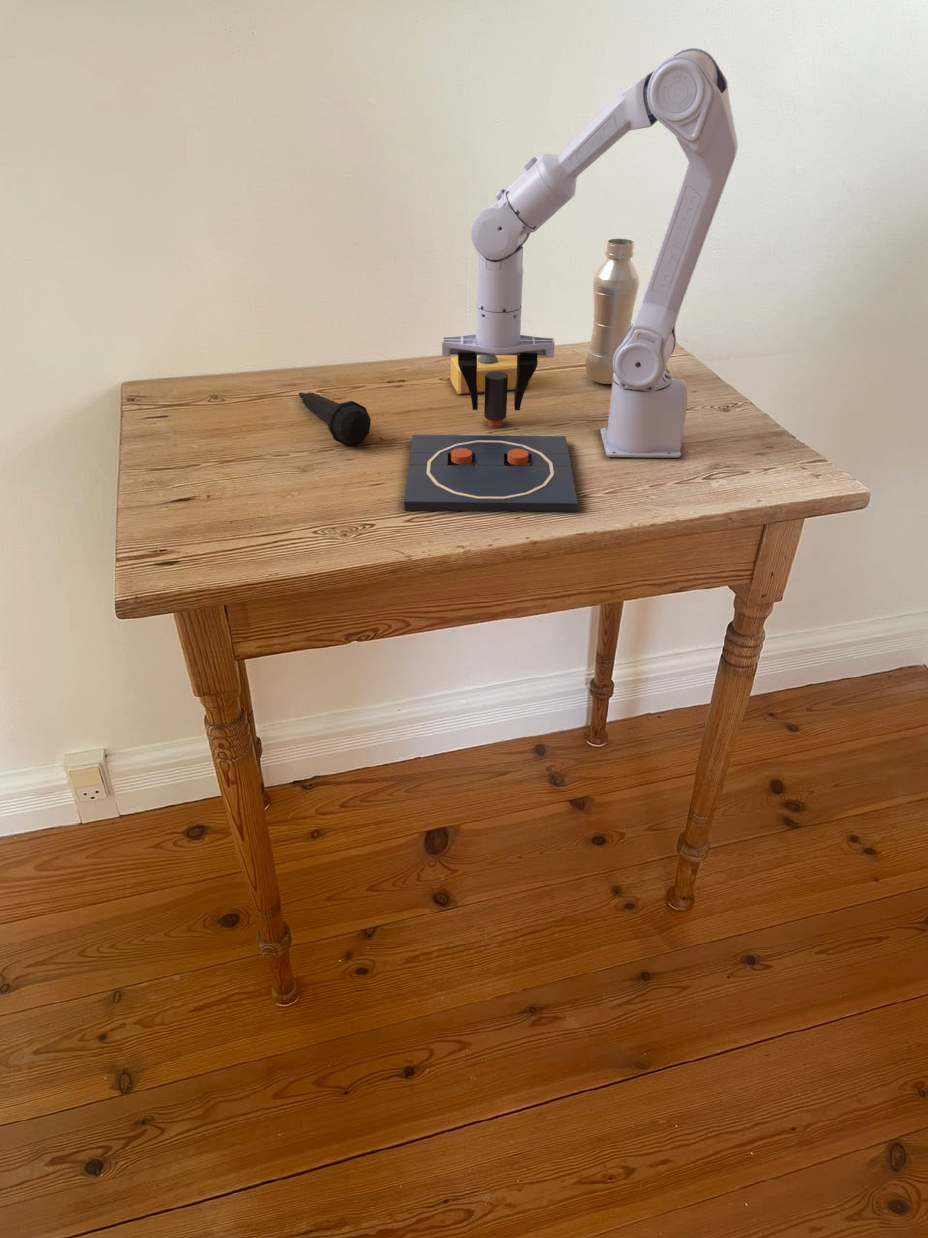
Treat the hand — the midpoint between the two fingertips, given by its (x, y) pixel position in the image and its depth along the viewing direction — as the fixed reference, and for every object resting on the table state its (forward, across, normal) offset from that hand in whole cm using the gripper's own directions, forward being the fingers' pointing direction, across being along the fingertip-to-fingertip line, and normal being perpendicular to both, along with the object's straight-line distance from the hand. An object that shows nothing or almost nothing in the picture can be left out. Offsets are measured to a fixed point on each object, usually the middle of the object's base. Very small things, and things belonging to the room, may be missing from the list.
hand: (496, 407), depth 124 cm
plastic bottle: (+3, -17, -16) cm, 24 cm away
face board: (+2, +1, +15) cm, 15 cm away
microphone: (+3, +22, 0) cm, 22 cm away
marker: (+2, 0, 0) cm, 3 cm away
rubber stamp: (+3, +1, -14) cm, 14 cm away
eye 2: (+2, -2, +13) cm, 13 cm away
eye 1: (+2, +4, +13) cm, 14 cm away
